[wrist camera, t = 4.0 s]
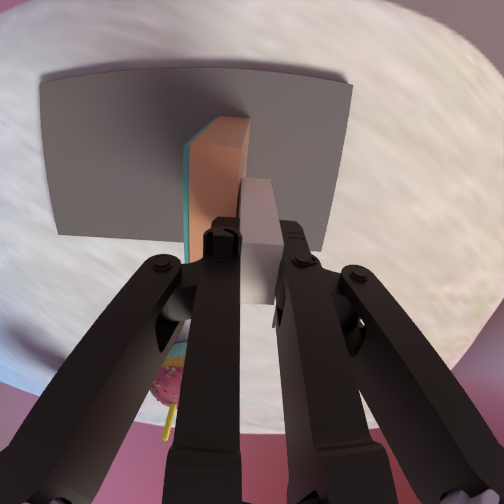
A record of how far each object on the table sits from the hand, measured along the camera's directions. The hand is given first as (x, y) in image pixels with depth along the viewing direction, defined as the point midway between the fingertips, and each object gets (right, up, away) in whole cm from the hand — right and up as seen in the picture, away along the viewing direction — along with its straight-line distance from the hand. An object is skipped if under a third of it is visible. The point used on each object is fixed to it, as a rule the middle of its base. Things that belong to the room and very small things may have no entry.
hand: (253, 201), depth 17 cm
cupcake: (-8, -15, +19) cm, 25 cm away
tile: (-2, +4, +5) cm, 7 cm away
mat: (-6, +5, +6) cm, 9 cm away
